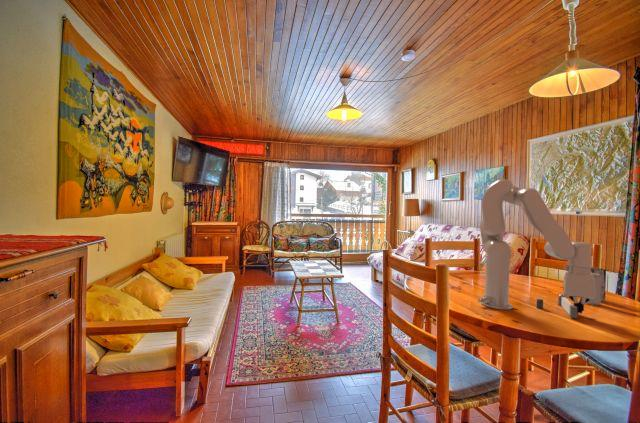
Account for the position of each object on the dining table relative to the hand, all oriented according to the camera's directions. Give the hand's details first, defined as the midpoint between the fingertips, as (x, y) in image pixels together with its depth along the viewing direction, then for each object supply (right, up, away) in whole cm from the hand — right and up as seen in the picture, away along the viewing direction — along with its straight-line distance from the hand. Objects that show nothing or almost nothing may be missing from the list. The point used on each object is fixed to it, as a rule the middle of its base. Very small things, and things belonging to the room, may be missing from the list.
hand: (578, 312), depth 124 cm
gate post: (+4, -1, +13) cm, 13 cm away
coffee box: (+29, -2, +25) cm, 39 cm away
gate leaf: (-2, -1, +3) cm, 4 cm away
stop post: (-10, -1, +8) cm, 14 cm away
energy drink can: (+22, -2, +16) cm, 27 cm away
